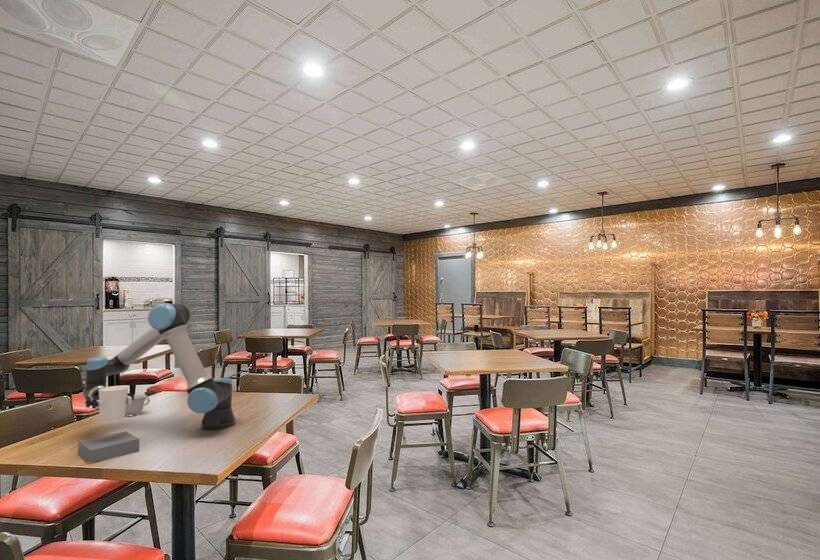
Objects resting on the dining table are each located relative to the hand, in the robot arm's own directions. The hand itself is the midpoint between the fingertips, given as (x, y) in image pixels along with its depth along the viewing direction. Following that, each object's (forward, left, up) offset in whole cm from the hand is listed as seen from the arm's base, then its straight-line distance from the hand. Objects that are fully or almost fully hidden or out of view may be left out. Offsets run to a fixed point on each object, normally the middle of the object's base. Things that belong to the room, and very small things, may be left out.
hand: (116, 403), depth 158 cm
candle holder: (+4, -3, -7) cm, 8 cm away
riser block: (+4, -2, -20) cm, 20 cm away
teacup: (+31, -58, -20) cm, 69 cm away
